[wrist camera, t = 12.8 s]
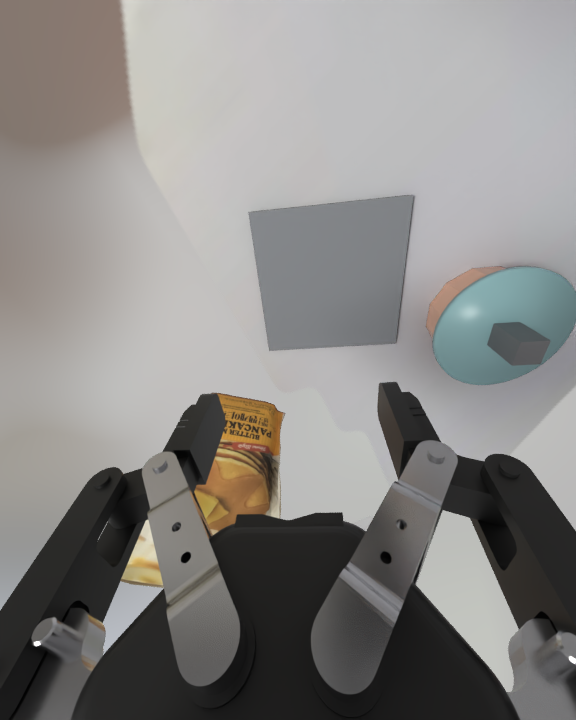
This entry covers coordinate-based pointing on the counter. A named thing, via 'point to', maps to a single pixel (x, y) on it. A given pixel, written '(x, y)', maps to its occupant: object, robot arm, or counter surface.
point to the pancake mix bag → (228, 479)
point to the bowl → (454, 293)
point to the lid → (504, 325)
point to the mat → (332, 271)
